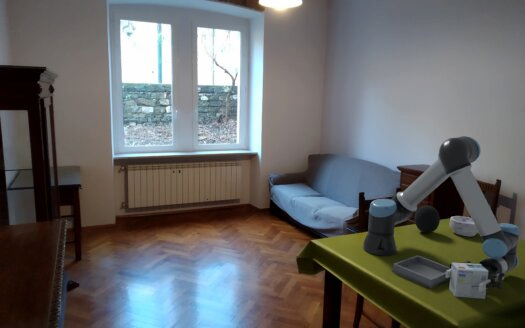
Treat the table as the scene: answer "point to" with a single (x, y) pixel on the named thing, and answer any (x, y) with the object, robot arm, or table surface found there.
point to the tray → (422, 271)
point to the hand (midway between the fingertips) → (462, 280)
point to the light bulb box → (467, 280)
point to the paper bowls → (463, 226)
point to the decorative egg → (427, 219)
